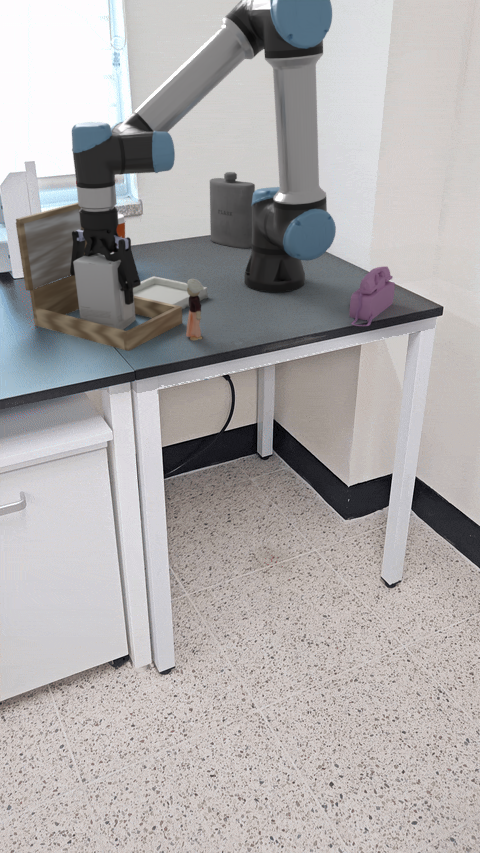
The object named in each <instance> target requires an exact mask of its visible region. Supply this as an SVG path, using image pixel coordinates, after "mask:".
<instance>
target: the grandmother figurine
mask: <svg viewBox="0 0 480 853" xmlns="http://www.w3.org/2000/svg"><path fill="white" fill-rule="evenodd" d="M186 283H187V286H188V288H187V292H188V294H189V295H190V297H189V308H188V309H189V310H188V317H187V324H186V334H185V335H186V337H188V338H189V340H191V341H198V339H200V340H202V339H203V336H202V331H201V326H200V322H201V320H202V316H201V314H202V304H201V301H200V299H199V296H198V294H199V293H200V291H203V289H204V288H203V287H204V286H203V284H202V283H201V282H200V280H198V279H196V278H190V279H188V280H187V282H186Z"/></svg>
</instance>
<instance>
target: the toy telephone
mask: <svg viewBox="0 0 480 853" xmlns="http://www.w3.org/2000/svg"><path fill="white" fill-rule="evenodd" d="M393 278H394V277H393V275H391V270H390V269H389V266H378V267H375V268H373V269H371V270H370V271H369V272H367V273H366V274H365V276H364V277H363V278H362V279H361V281H360V284H359V288H358V289H356V290H355V291H354V292H353V293H352V294H351V296H350V301H349V317H350V318H353V319H354V320H353V321H352V322H351V325H352V326H355V327H368V326H371V323H372V321H373V319H375V318H376V317H378V315H380V314H382V313H383V312H384V311H386V309H388V308H389V307H391V306H392V305H393V303H394V298H395V297H394V296H395V284H396V283H395V282H393V281H390V280H393ZM358 320H361V321H362V320H363V321H366V320H367V321H366V322H367V324H356V323H357V321H358Z"/></svg>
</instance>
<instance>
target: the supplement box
mask: <svg viewBox="0 0 480 853" xmlns="http://www.w3.org/2000/svg"><path fill="white" fill-rule="evenodd" d="M113 253H114V252H112V253H110V254H113ZM120 262H121V260H118V261H115V262H112V261H109V260H107V259H106V258H105V256H104V255H101V254H99V253H98V254H95V255H92V256H89V257H88V256H83V257H81V258H79V259H77V260H75V261H74V262H73V264H74V271H75V279H76V287H77V295H78V303H79V319H83V320H87V321H90V322H94V323H98V324H102V325H106V326H109V327H113V328H117V329H121V330H125V329H126V328H128V327H129V326H130V325H131V324H133V323H134V322H136V321H137V320H136V318H137V317H136V314H135V305H134V301H133V303H132V315H133V316H132V317H130V318H128V319H126V320H122V319H121V307H120V295H119V290H120V289H122V287H121V285H120V283H119V281H118V270H117V268H118V267H119V265H120ZM126 283H127V282H126ZM133 299H134V293H133Z"/></svg>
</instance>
